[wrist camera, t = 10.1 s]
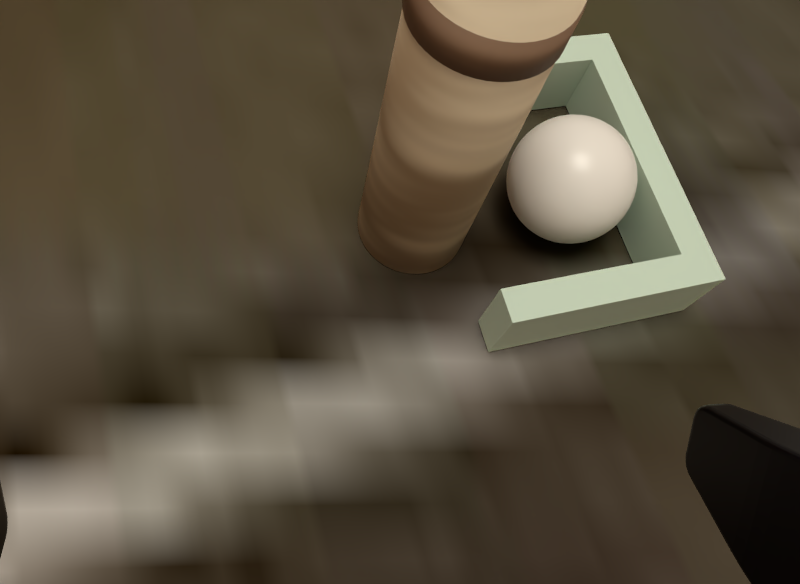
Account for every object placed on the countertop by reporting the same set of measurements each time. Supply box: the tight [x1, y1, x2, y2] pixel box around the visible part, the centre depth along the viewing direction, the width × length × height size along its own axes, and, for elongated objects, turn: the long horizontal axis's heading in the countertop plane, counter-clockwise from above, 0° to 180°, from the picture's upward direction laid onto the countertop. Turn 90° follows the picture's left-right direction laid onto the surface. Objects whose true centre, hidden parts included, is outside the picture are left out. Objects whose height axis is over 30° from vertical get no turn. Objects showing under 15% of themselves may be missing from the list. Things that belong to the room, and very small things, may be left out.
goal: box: [478, 33, 725, 352], centre depth 26 cm, size 11×8×3 cm
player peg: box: [358, 0, 587, 274], centre depth 20 cm, size 4×4×13 cm
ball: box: [506, 114, 638, 244], centre depth 26 cm, size 5×5×5 cm
